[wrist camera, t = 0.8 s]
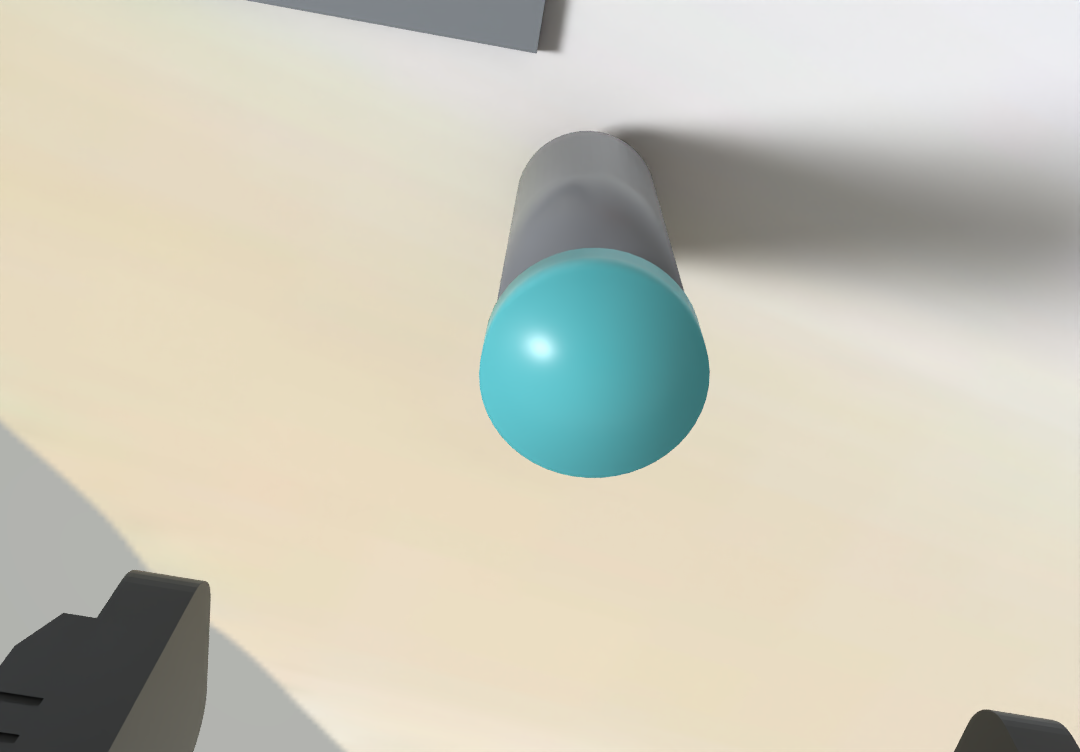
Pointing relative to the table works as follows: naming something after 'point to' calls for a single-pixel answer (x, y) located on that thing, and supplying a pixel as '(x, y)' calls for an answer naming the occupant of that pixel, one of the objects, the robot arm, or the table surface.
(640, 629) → the table surface
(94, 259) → the table surface
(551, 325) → the marker
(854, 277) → the table surface
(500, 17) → the grey tablet
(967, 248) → the table surface
